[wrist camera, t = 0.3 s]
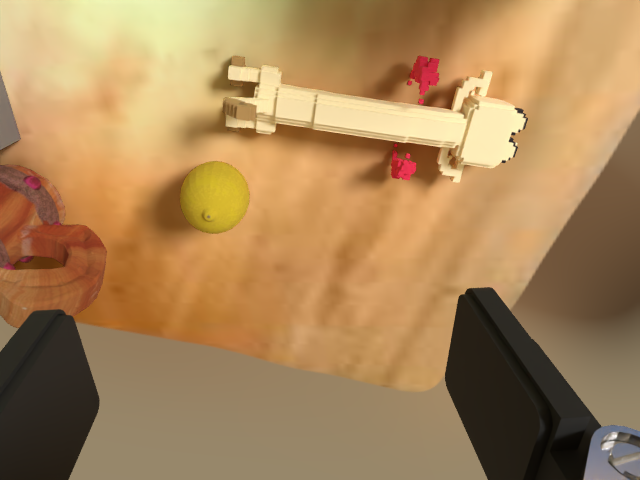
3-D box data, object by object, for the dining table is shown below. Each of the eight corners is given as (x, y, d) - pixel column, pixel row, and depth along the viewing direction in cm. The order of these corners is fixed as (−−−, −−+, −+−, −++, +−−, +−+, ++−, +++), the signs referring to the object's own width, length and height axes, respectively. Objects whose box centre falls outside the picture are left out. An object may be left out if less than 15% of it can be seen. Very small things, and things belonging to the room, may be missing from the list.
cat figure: (231, 146, 40) (497, 183, 42) (211, 178, 33) (537, 222, 34) (239, 25, 36) (535, 73, 38) (217, 29, 28) (591, 89, 30)
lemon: (223, 137, 39) (211, 167, 31) (264, 185, 41) (261, 222, 34) (175, 174, 40) (154, 211, 33) (218, 219, 42) (206, 262, 35)
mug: (-39, 222, 40) (-195, 330, 27) (-39, 136, 37) (-217, 211, 23) (130, 262, 43) (66, 376, 30) (144, 187, 40) (80, 278, 27)
